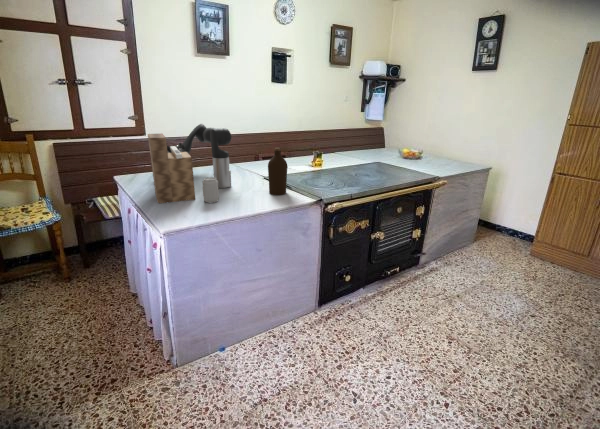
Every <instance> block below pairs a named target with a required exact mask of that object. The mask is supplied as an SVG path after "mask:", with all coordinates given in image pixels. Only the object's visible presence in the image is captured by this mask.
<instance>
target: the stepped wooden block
mask: <svg viewBox="0 0 600 429" xmlns="http://www.w3.org/2000/svg"><path fill="white" fill-rule="evenodd" d="M147 139H148V140H147V141H148V148H149V154H150V164H151V170H152V177H153V186H154V193H155V194H154V195H155V198H156V201H157V204H158V203H159V204H167V202H168V203H175V202H185V201H193V200H196V191H195V189H196V188H195V180H194V169H193V168H194V167H193V157H192V156H191V155H190V153H189V154H188V153H187V152H180V153H181V154H182V158H179V159H177V158H176V157H175V156H174V154H173V153H167V146H168V143H167V138H166V135H165V134H164V133H162V132H161V133H147ZM166 143H167V144H166Z"/></svg>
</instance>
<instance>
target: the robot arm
mask: <svg viewBox="0 0 600 429" xmlns="http://www.w3.org/2000/svg"><path fill="white" fill-rule="evenodd" d="M194 138H196V139H197V140H198V141H199V142H200V143H203V144H204V143H210V147H211V155H212V166H213V167H212V171H213V177H214V178H216V180H217V181H218V189H226V188H230V187H232V175H231V174H232V171H231V170H230V156H229V155H230V153H229V151H227V150H223V149H221V148H220V147H219V146H227V145H229V144H230V143H231V141H232V133H231V132H230V130H229V129H228V128H226V127H225V128H222V127H220V128H215V127H207V126H205V124H203V123H200V124H198V125H197V126H195V127H194V129H193V130H192V131H191V132H190V134H189V135H188V136H187V137H186V138H185V140H184V141H183V142H180V141H179V142H178V145H177V144H176V145H174V146H175V147H176V148H177V149H178V150H179V151H180V152H187V153H188V154H189V155H190V153H191V152H192V151H191V150H192V146H193V142H194ZM166 144H167V153H172V152H171V150H170V146H168V143H167V142H166Z"/></svg>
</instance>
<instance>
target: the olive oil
mask: <svg viewBox="0 0 600 429" xmlns="http://www.w3.org/2000/svg"><path fill="white" fill-rule="evenodd" d="M281 151H282V148H281V147H274V152H273V153H274V155H273V156H272V157H271V158H270V159H269V160H268V163H267V172H268V174H267V175H268V190H269V191H268V193H269V194H270V195H272V196H283V195H286V194H287V180H288V178H287V177H288V163H287V161H286V159H285V158H284V157H283V156H282V155H281V154H282V152H281Z"/></svg>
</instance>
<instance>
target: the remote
mask: <svg viewBox="0 0 600 429" xmlns="http://www.w3.org/2000/svg"><path fill="white" fill-rule="evenodd" d="M175 146H176V145H174V146H173V145H171V146H169V147H170V150H171V152H172V153H173V154H174V156H175V157H176V158H177V159H179V158H182V154H181V153H180V151H179V150H178V149H177V148H176V147H175Z"/></svg>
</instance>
